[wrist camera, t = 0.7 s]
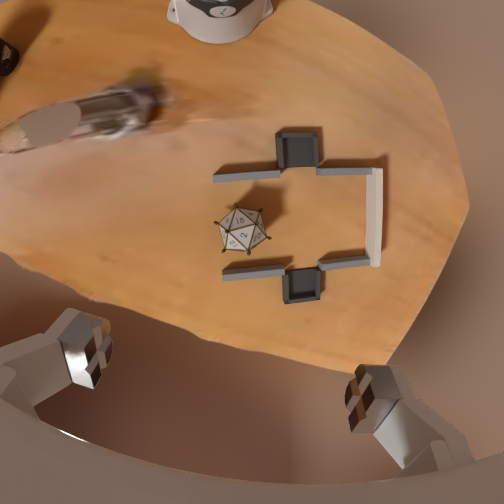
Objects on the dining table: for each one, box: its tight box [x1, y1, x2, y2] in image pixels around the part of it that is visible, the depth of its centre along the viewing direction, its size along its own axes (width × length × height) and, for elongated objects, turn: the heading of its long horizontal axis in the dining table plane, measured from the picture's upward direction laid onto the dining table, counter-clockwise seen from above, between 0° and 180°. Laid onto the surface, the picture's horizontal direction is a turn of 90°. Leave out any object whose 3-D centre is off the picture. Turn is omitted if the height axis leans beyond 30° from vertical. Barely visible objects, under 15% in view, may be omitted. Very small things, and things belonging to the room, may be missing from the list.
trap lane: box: [213, 132, 383, 304], centre depth 53 cm, size 31×29×4 cm
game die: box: [213, 203, 272, 256], centre depth 50 cm, size 9×8×10 cm
